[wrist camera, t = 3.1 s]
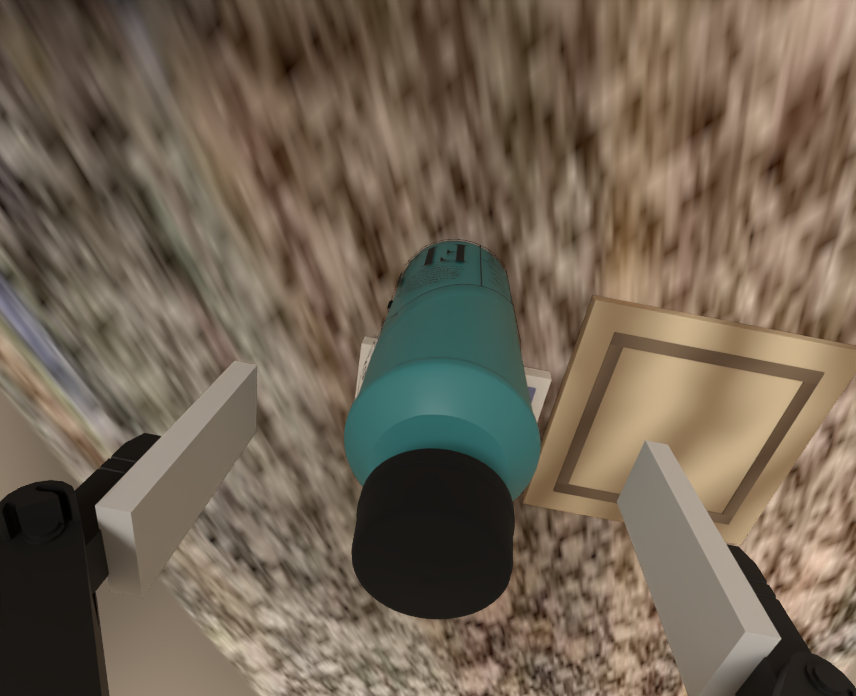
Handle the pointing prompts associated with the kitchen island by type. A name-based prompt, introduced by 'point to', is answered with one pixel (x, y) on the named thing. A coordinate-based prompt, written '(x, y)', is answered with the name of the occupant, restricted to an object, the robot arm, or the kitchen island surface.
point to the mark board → (685, 409)
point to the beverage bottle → (442, 438)
